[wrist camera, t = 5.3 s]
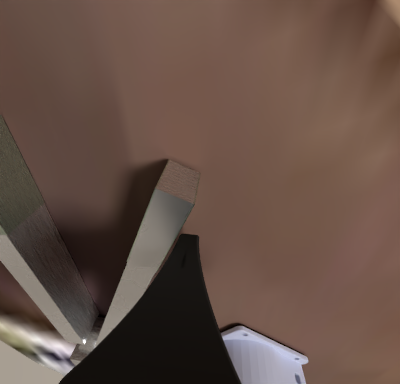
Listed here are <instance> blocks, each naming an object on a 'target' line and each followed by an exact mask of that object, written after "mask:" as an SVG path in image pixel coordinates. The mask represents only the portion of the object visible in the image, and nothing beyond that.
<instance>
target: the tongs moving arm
mask: <svg viewBox="0 0 400 384" xmlns="http://www.w3.org/2000/svg"><path fill="white" fill-rule="evenodd" d="M199 178H200V173H199V172H197V171H194V170H192V169H190V168H188V167H185V166H183V165H181V164H178V163H176V162H174V161H172V160H168V162H167V164H166V166H165V168H164V171H163V173H162V175H161V177H160V179H159V181H158V183H157V185H156V187H155V189H154V192H153V195H152V197H151V200H150V202H149V205H148V208H147V210H146V213H145V215H144V218H143V221H142V223H141V226H140V228H139V231H138V233H137V236H136V239H135V241H134V244H133V246H132V249H131V252H130V254H129V257H128V259H127V265H126V267H125V270H124V272H123V275H122V277H121V280H120V283H119V285H118V288H117V290H116V293H115V295H114V298H113V300H112V303H111V306H110V308H109V311H108V313H107V316H106V318H102V317H97V319H96V321H95V323H94V325H93V327H92V329H91V332H90V334H89V336H88V338H87V340H86V342H85V345H84V344H80V346H79V348H78V349H79V350H80V351H81V352H83V353H85V354H89V353H90V352H91V351H92V350H93V349H94V348H95V347H96V346H97V345H98V344H99V343H100V342H101V341H102V340H103V339H104V338H105V337H106V336H107V335H108V334H109V333H110V332H111V331H112V330H113V329H114V328H115V327H116V326H117V325H118V324H119V322H120V321H121V320H122V319H123V318H124V317H125V316H126V315H127V313H128V312H129V311H130V310H131V309H132V308H133V306H134V305H135V304H136V303H137V302H138V300H139V299H140V298H141V297H142V295H143V294H144V292H145V290H146V288H147V286H148V285H149V283H150V281H151V279H152V277H153V276H154V274H155V272H157V270H158V269H159V267H160V265H161V263H162V262H163V260H164V258H165V256H166V254H167V253H168V251H169V249H170V247H171V246H172V244H173V242H174V240H175V239H176V237H177V235H178V233H179V231H180V230H181V228H182V226H183V224H184V223H185V221H186V219H187V217H188V215H189V214H190V212H191V210H192V208H193V207H194V205H195V200H196V195H197V189H198V183H199Z"/></svg>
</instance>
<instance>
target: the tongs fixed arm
mask: <svg viewBox="0 0 400 384" xmlns="http://www.w3.org/2000/svg"><path fill="white" fill-rule="evenodd" d="M0 261H1V262H2V263H3V264H4V266H5V267H6V268H7V269H8V270H9V272H10V273H11V274H12V275H13V277H14V278H15V279H16V280H17V281H18V283H19V284H20V285H21V286H22V287H23V289H24V290H25V291H26V292H27V294H28V295H29V296H30V297H31V298H32V300H33V301H34V302H35V303H36V304H37V306H38V307H39V308H40V309H41V311H42V312H43V313H44V314H45V315H46V317H47V318H48V319H49V320H50V322H51V323H52V324H53V325H54V326H55V328H56V329H57V330H58V331H59V332H60V334H61V335H62V336H63V337H64V339H65V340H66V341H67V342H68V343H76V344H77V345H76V347H75V349H74V351H73V353H72V355H71V357H70V360H71V361H72V362H73V363H74V364H75V366H76V365H77V364H79V363H80V362H81V361H82V360H83V359H84V358H85V357H86V356H87V355H88V354H85V353H83V352H81V351H80V350H79V349H78V348H79V346H80V344H84V345H85V342H86V340H87V338H88V336H89V334H90V332H91V329H92V327H93V325H94V323H95V321H96V319H97V317H98V314H99V312H98V310H97V308H96V306H95V304H94V301H93V299H92V297H91V295H90V293H89V291H88V289H87V287H86V285H85V283H84V281H83V279H82V277H81V275H80V273H79V271H78V269H77V267H76V265H75V263H74V261H73V259H72V257H71V255H70V253H69V251H68V249H67V247H66V245H65V243H64V241H63V239H62V237H61V235H60V233H59V231H58V229H57V227H56V225H55V223H54V221H53V219H52V217H51V215H50V213H49V211H48V209H47V207H46V205H45V202H44V200H43V198H42V196H41V194H40V192H39V190H38V188H37V186H36V184H35V182H34V180H33V178H32V176H31V174H30V172H29V170H28V168H27V166H26V164H25V162H24V160H23V158H22V156H21V154H20V152H19V150H18V148H17V146H16V144H15V142H14V140H13V138H12V136H11V134H10V132H9V130H8V127H7V125H6V123H5V121H4V119H3V117H2V115H0Z"/></svg>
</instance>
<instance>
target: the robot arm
mask: <svg viewBox="0 0 400 384" xmlns="http://www.w3.org/2000/svg"><path fill="white" fill-rule="evenodd" d="M306 363H308V358H307V357H306V356H304V355H302V354H300V353H298V352H296V351H294V350H292V349H290V348H288V347H286V346H283V345H281V344H279V343H277V342H275V341H273V340H271V339H269V338H267V337H265V336H263V335H261V334H258V333H256V332H254V331H252V330H250V329H248V328H246V327H244V326H236V327H234V328H231V329H229V330H227V331H224V332H222V333H220V330H219V328H218V325H217V322H216V319H215V316H214V313H213V310H212V307H211V304H210V300H209V297H208V293H207V289H206V286H205V282H204V277H203V272H202V267H201V262H200V254H199V236H198V235H190V234H181V235H180V236H179V239H178V241H177V243H176V245H175V247H174V249H173V251H172V252H171V254H170V256H169V258H168V259H167V261H166V262H165V264H164V266H163V267H162V269H161V270H160V272H159V273H158V275H157V276H156V278H155V279H154V281H153V282H152V283H151V285H150V286H149V288H148V289H147V290H146V292H145V293H144V294H143V295H142V297H141V298H140V299H139V300H138V302H137V303H136V304H135V305H134V306H133V308H132V309H131V310H130V311H129V312H128V313H127V315H126V316H125V317H124V318H123V319H122V320H121V321H120V322H119V324H118V325H117V326H116V327H115V328H114V329H113V330H112V331H111V332H110V333H109V334H108V335H107V336H106V337H105V338H104V339H103V340H102V341H101V342H100V343H99V344H98V345H97V346H96V347H95V348H94V349H93V350H92V351H91V352H90V353H89V354H88V355H87V356H86V357H85V358H84V359H83V360H82V361H81V362H80V363H79V364H77V365H76V366H75V367H74V368H73V369H72V370H71V371H70V372H69V373H68V374H67V375H66V376H65V377H64V378H63V379H62V380H61V381H60V383H59V384H306V382H305V378H304V374H303V370H302V366H301V365H302V364H306Z"/></svg>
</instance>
